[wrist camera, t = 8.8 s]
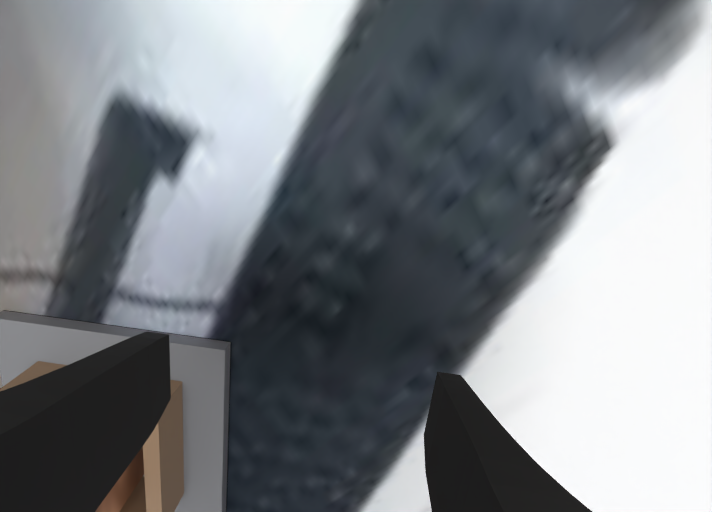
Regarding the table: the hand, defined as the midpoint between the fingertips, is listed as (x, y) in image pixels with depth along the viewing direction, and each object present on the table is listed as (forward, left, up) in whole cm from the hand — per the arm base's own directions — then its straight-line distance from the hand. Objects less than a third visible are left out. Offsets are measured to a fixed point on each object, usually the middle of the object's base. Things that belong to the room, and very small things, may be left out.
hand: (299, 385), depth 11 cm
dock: (-11, +11, -9) cm, 18 cm away
